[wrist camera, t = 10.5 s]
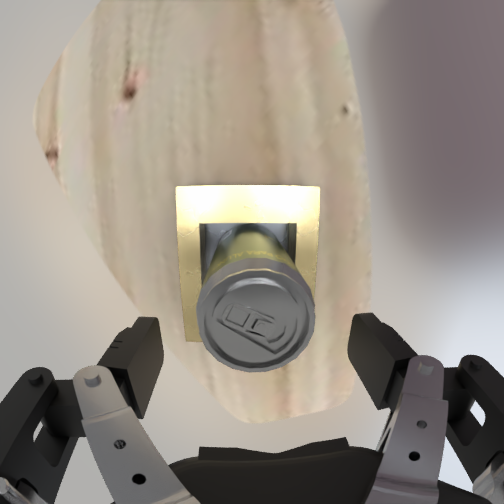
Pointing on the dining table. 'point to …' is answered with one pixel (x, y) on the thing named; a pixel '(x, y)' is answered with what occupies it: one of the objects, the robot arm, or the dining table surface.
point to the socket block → (234, 214)
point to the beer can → (254, 302)
